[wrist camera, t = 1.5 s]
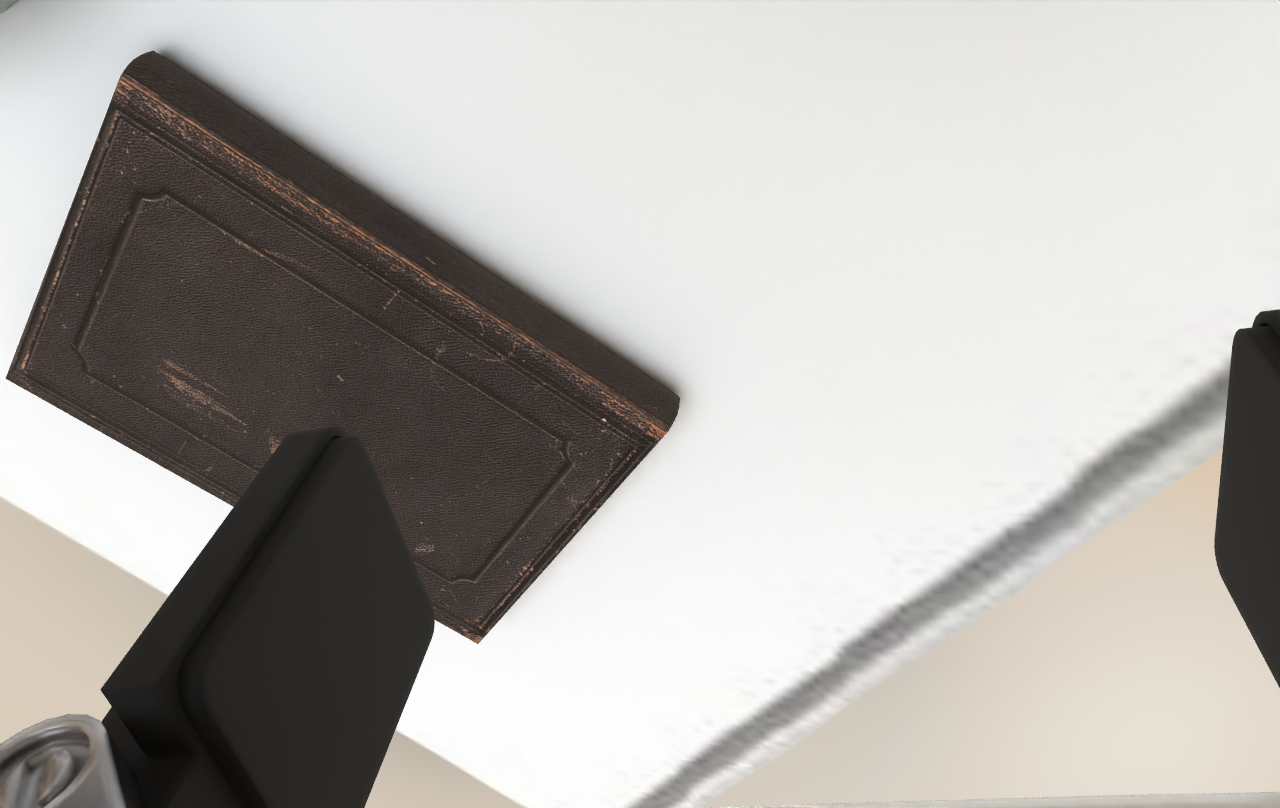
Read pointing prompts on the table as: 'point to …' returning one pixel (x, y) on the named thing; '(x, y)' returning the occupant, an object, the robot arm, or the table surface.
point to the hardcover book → (324, 344)
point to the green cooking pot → (5, 4)
